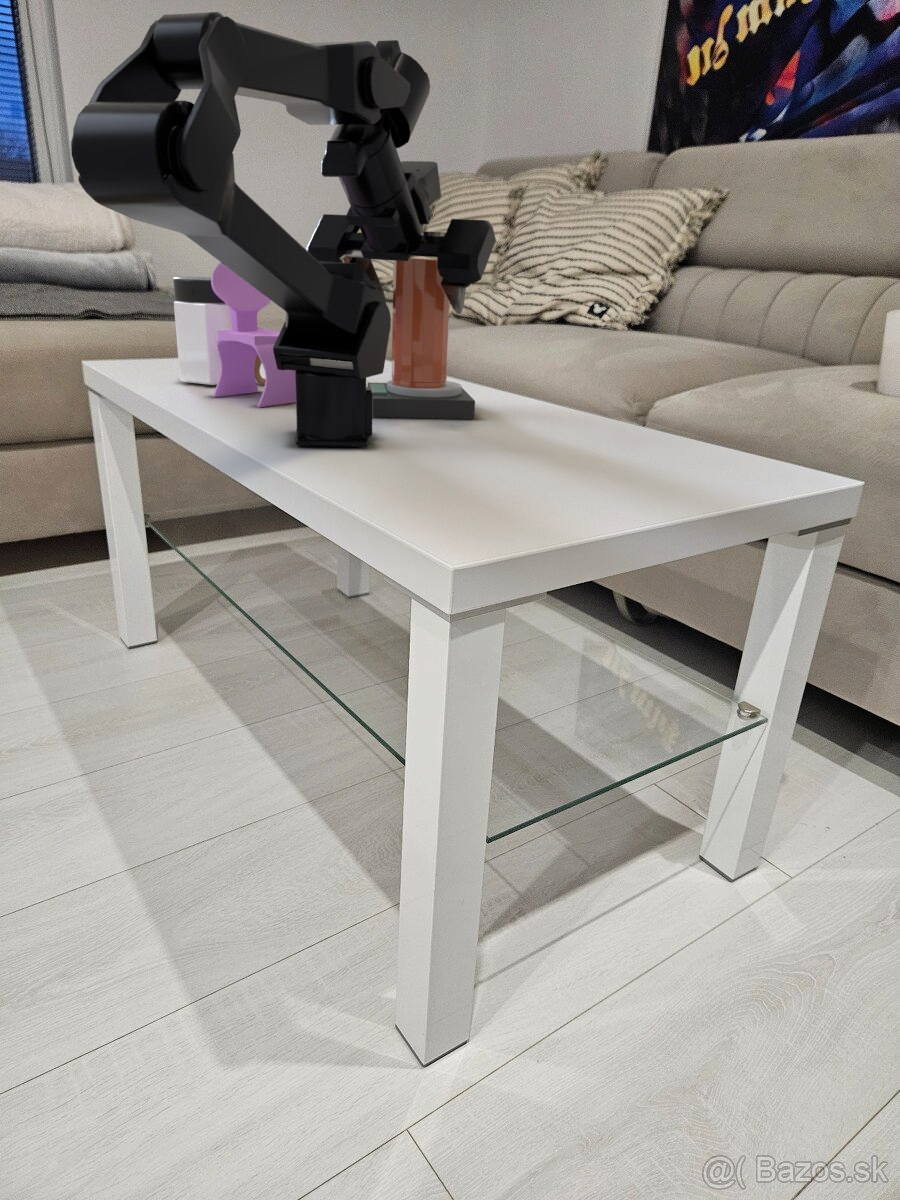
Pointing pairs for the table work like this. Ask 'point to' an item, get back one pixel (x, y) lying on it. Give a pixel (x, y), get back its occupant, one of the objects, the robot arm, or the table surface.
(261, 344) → the toy chair
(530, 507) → the table surface
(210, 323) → the jar
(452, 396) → the scale
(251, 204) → the robot arm
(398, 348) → the cup
